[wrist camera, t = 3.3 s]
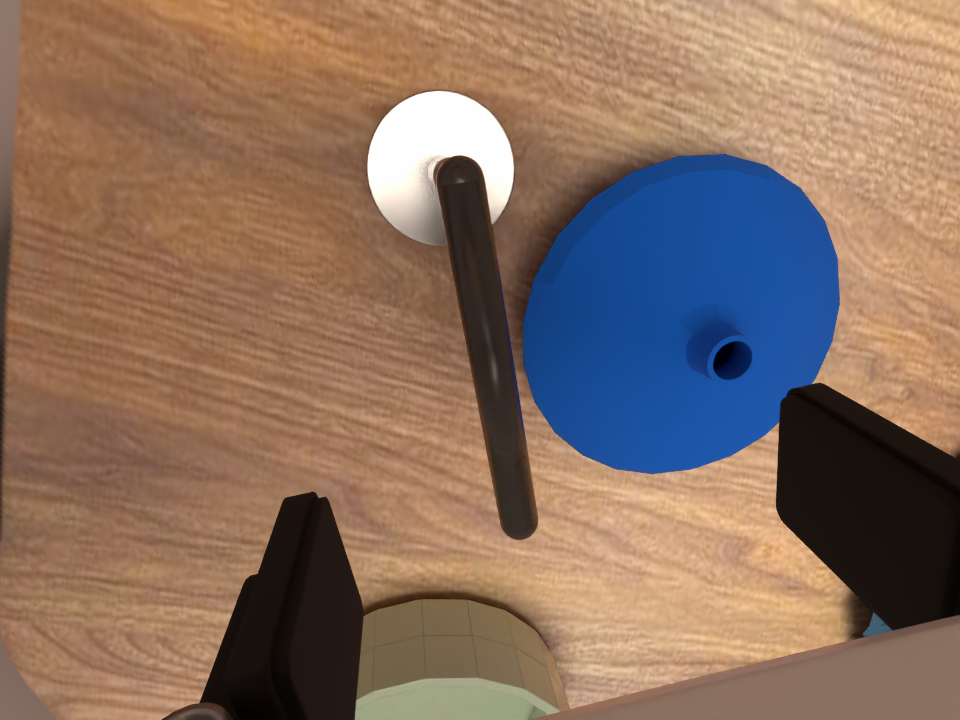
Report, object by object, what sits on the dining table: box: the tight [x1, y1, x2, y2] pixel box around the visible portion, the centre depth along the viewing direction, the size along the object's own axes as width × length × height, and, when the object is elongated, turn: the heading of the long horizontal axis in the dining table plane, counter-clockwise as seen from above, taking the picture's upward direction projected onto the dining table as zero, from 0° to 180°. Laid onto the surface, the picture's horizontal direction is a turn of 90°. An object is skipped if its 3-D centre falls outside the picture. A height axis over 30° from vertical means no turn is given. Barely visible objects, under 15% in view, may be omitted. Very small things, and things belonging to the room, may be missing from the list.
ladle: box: [366, 90, 538, 540], centre depth 22 cm, size 16×6×11 cm, turn 10°
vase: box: [523, 154, 840, 474], centre depth 26 cm, size 16×16×7 cm
